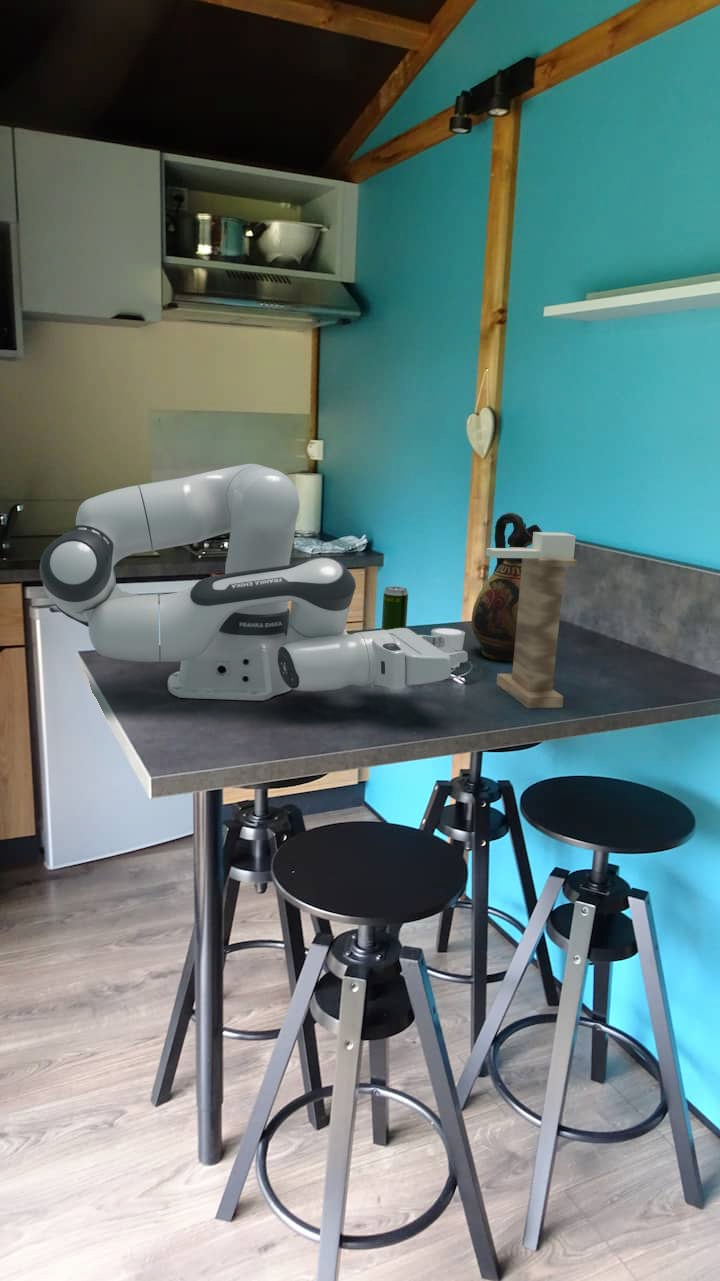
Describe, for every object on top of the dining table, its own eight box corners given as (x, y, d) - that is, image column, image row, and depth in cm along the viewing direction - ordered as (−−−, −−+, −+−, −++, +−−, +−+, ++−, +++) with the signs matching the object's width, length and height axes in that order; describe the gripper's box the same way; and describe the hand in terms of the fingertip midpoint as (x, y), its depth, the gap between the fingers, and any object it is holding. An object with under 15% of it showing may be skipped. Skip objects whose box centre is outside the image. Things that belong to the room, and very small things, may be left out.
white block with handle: (493, 558, 154) (495, 534, 154) (484, 554, 158) (486, 531, 157) (573, 559, 158) (575, 535, 157) (563, 555, 162) (565, 532, 161)
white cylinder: (465, 669, 184) (468, 635, 182) (431, 668, 184) (433, 634, 182) (460, 660, 191) (462, 627, 189) (426, 660, 190) (429, 626, 189)
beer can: (406, 645, 201) (409, 591, 198) (382, 644, 201) (384, 590, 198) (403, 639, 207) (407, 586, 204) (379, 639, 206) (382, 585, 203)
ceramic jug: (557, 660, 195) (571, 517, 188) (503, 668, 186) (515, 519, 179) (502, 642, 208) (513, 508, 201) (449, 649, 200) (459, 510, 193)
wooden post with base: (527, 708, 161) (541, 559, 155) (496, 683, 175) (508, 546, 169) (562, 707, 162) (577, 559, 156) (528, 683, 177) (541, 546, 170)
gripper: (358, 658, 164) (430, 649, 168) (399, 693, 145) (479, 683, 149) (357, 623, 162) (430, 616, 166) (398, 655, 143) (480, 645, 147)
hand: (454, 648), depth 157 cm, fingers open, 8 cm apart
